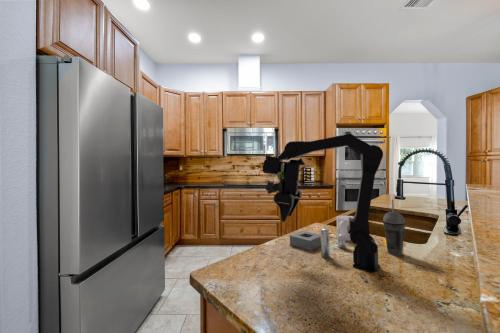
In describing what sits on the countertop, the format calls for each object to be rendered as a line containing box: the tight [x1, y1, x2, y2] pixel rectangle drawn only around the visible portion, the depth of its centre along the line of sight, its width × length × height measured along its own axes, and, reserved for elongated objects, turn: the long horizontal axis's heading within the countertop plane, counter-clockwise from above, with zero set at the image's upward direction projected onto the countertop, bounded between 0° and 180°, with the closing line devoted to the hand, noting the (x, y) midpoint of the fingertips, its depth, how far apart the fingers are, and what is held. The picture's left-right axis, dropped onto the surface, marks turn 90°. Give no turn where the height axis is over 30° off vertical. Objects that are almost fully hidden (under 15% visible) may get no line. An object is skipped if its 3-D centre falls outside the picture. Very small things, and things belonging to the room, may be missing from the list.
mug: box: [336, 215, 354, 242], centre depth 104 cm, size 12×9×9 cm
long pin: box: [319, 227, 331, 259], centre depth 84 cm, size 3×3×10 cm
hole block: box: [289, 230, 321, 252], centre depth 97 cm, size 10×10×4 cm
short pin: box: [337, 234, 347, 250], centre depth 93 cm, size 3×3×5 cm
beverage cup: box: [382, 198, 406, 257], centre depth 85 cm, size 7×7×20 cm
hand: (286, 218), depth 84 cm, fingers open, 9 cm apart
